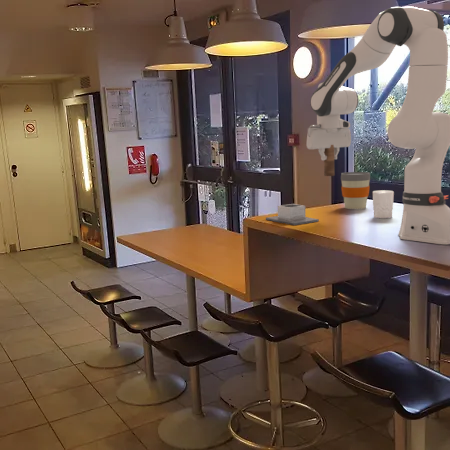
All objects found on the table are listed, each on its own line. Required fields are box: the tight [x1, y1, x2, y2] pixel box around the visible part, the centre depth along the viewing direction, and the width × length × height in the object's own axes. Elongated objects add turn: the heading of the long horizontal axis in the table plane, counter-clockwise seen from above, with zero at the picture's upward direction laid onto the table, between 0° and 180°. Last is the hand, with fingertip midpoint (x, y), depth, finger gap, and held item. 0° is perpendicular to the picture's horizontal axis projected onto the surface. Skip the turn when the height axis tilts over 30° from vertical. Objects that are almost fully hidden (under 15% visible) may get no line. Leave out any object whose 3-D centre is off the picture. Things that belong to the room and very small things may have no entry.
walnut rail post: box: [323, 145, 336, 177], centre depth 218 cm, size 4×4×12 cm
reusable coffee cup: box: [340, 171, 371, 210], centre depth 241 cm, size 13×13×15 cm
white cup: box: [372, 189, 395, 219], centre depth 216 cm, size 8×8×10 cm
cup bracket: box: [265, 203, 319, 226], centre depth 217 cm, size 18×12×6 cm, turn 32°
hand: (329, 159), depth 218 cm, fingers closed on walnut rail post, 4 cm apart
